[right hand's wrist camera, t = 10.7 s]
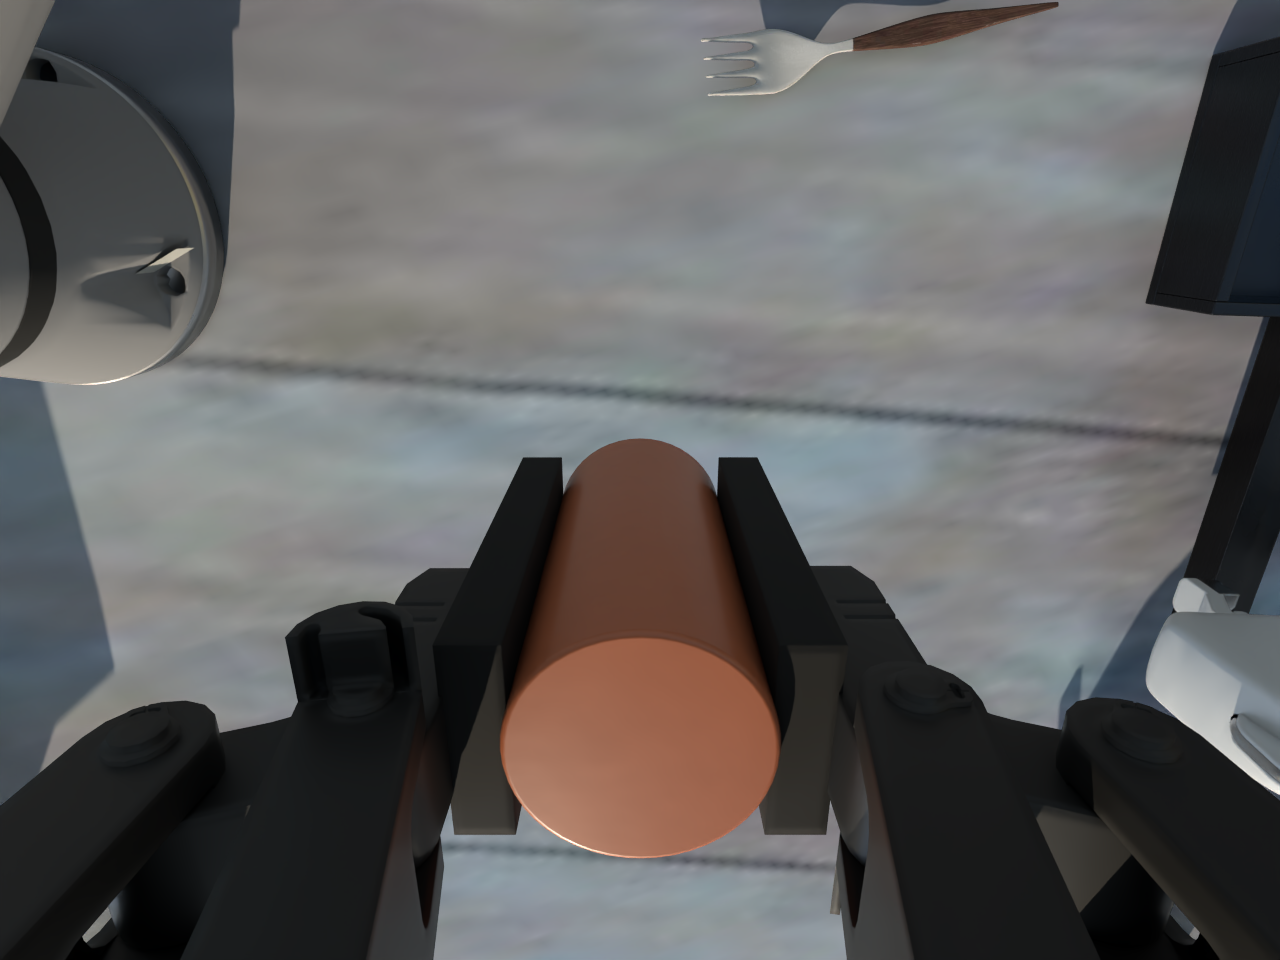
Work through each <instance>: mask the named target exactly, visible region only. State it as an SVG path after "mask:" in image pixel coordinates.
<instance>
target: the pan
mask: <svg viewBox="0 0 1280 960" xmlns="http://www.w3.org/2000/svg"><path fill="white" fill-rule="evenodd" d="M1146 304H1152V305H1158V306H1163V307H1169V308H1175V309H1181V310H1186V311H1192V312H1198V313H1204V314H1209V315H1228V316H1259V317H1270V319H1269V322H1268V325H1267V328H1266V331H1265V334H1264V337H1263V340H1262V343H1261V346H1260V349H1259V352H1258V355H1257V358H1256V361H1255V364H1254V367H1253V370H1252V373H1251V376H1250V379H1249V382H1248V385H1247V388H1246V391H1245V394H1244V397H1243V400H1242V403H1241V406H1240V409H1239V412H1238V415H1237V418H1236V421H1235V424H1234V427H1233V430H1232V433H1231V436H1230V439H1229V442H1228V445H1227V448H1226V451H1225V454H1224V457H1223V460H1222V463H1221V466H1220V470H1219V473H1218V476H1217V479H1216V482H1215V485H1214V488H1213V491H1212V494H1211V497H1210V500H1209V503H1208V506H1207V509H1206V512H1205V515H1204V518H1203V521H1202V524H1201V527H1200V530H1199V533H1198V536H1197V539H1196V542H1195V545H1194V548H1193V551H1192V554H1191V557H1190V560H1189V563H1188V566H1187V569H1186V572H1185V575H1184V578H1196V579H1213V580H1219V581H1220V582H1222V585H1224V586H1226V587H1229V588H1231V589H1232V590H1233V591H1235V592H1236V593H1238V594H1239V595H1240V596H1239V598H1238V601H1237V603H1236V606H1235V608H1234V609H1232V610H1231V611H1232V612H1234V611H1242V612H1246V613H1248V614H1249V611H1250V609H1251V606H1252V603H1253V601H1254V598H1255V595H1256V593H1257V590H1258V587H1259V585H1260V582H1261V579H1262V577H1263V574H1264V571H1265V569H1266V566H1267V563H1268V561H1269V558H1270V555H1271V553H1272V550H1273V547H1274V545H1275V542H1276V539H1277V537H1278V534H1279V531H1280V37H1277V38H1273V39H1269V40H1266V41H1262V42H1259V43H1255V44H1252V45H1248V46H1244V47H1241V48H1237V49H1234V50H1230V51H1227V52H1224V53H1219V54H1215V55H1213V56H1212V59H1211V63H1210V67H1209V70H1208V74H1207V78H1206V81H1205V85H1204V89H1203V92H1202V96H1201V100H1200V104H1199V107H1198V111H1197V115H1196V118H1195V122H1194V126H1193V129H1192V133H1191V137H1190V140H1189V144H1188V148H1187V152H1186V155H1185V159H1184V163H1183V166H1182V170H1181V174H1180V177H1179V181H1178V185H1177V189H1176V192H1175V196H1174V200H1173V203H1172V207H1171V211H1170V214H1169V218H1168V222H1167V225H1166V229H1165V233H1164V237H1163V240H1162V244H1161V248H1160V251H1159V255H1158V259H1157V262H1156V266H1155V270H1154V273H1153V277H1152V281H1151V285H1150V288H1149V292H1148V296H1147V299H1146ZM1173 613H1177V611H1176V610H1175V609H1174V608H1173V611H1172V614H1173Z"/></svg>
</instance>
